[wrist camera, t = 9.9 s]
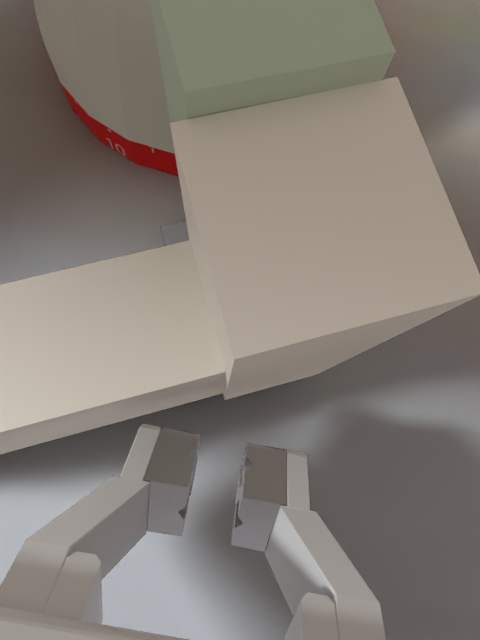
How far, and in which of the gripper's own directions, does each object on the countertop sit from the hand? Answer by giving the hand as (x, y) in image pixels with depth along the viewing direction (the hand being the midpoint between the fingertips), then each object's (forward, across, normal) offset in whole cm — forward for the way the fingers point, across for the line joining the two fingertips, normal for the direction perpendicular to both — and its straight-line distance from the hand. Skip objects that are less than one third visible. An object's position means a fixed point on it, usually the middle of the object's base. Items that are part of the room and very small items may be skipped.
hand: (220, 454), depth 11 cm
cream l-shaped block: (+4, +5, +2) cm, 7 cm away
